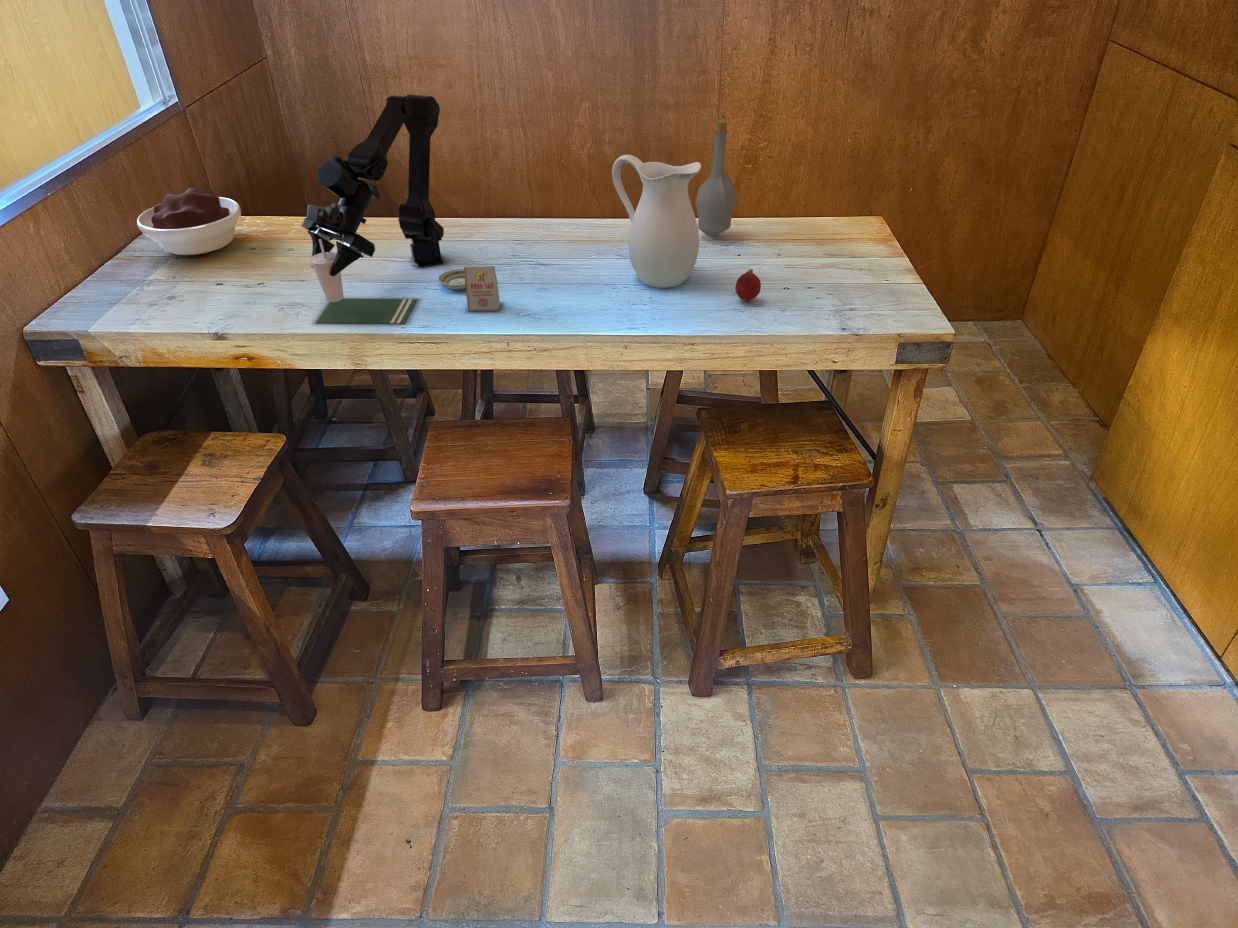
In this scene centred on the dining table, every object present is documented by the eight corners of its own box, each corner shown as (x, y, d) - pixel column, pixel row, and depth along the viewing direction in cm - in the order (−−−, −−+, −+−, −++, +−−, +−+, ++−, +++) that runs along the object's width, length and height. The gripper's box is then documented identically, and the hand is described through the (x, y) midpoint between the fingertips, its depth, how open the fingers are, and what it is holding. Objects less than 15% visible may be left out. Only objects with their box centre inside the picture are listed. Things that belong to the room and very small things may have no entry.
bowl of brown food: (139, 271, 199) (115, 212, 190) (160, 235, 218) (140, 180, 209) (243, 261, 204) (225, 203, 194) (255, 226, 223) (239, 172, 214)
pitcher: (710, 277, 193) (718, 161, 176) (666, 300, 184) (670, 180, 166) (638, 252, 206) (639, 141, 189) (593, 272, 196) (590, 157, 179)
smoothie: (323, 307, 173) (306, 247, 165) (317, 295, 178) (301, 236, 169) (352, 300, 176) (337, 241, 167) (346, 289, 180) (331, 230, 171)
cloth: (416, 300, 185) (416, 299, 185) (404, 324, 175) (404, 323, 175) (333, 299, 185) (332, 298, 185) (316, 323, 176) (315, 322, 176)
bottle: (736, 245, 209) (746, 127, 191) (694, 245, 209) (700, 127, 191) (732, 229, 218) (741, 115, 200) (691, 230, 218) (697, 115, 200)
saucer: (463, 274, 196) (462, 264, 195) (487, 285, 191) (486, 276, 189) (431, 286, 191) (429, 276, 189) (454, 298, 185) (452, 288, 184)
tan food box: (470, 304, 183) (465, 263, 177) (499, 303, 183) (495, 263, 177) (468, 311, 180) (463, 270, 174) (498, 311, 180) (493, 270, 174)
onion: (752, 309, 179) (756, 276, 175) (729, 303, 182) (732, 271, 177) (763, 299, 183) (766, 267, 178) (740, 294, 186) (743, 262, 181)
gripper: (297, 179, 169) (267, 245, 169) (351, 197, 160) (319, 267, 160) (336, 205, 179) (307, 267, 179) (389, 223, 170) (359, 288, 170)
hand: (322, 271), depth 172 cm, fingers closed on smoothie, 6 cm apart
